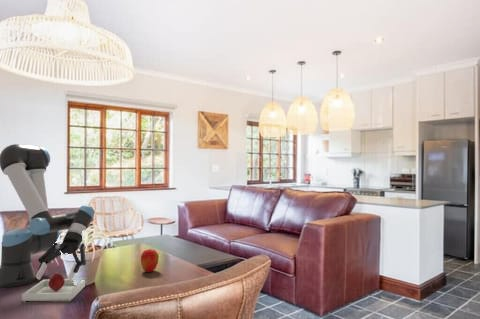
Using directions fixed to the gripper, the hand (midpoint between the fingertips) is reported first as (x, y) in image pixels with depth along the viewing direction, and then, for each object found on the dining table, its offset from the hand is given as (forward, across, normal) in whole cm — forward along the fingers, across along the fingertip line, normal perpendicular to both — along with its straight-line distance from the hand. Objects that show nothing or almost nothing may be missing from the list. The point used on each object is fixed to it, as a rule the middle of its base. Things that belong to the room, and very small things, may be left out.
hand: (53, 279), depth 137 cm
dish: (+3, 0, -6) cm, 7 cm away
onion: (+3, 0, -6) cm, 6 cm away
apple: (-21, -28, -31) cm, 47 cm away
